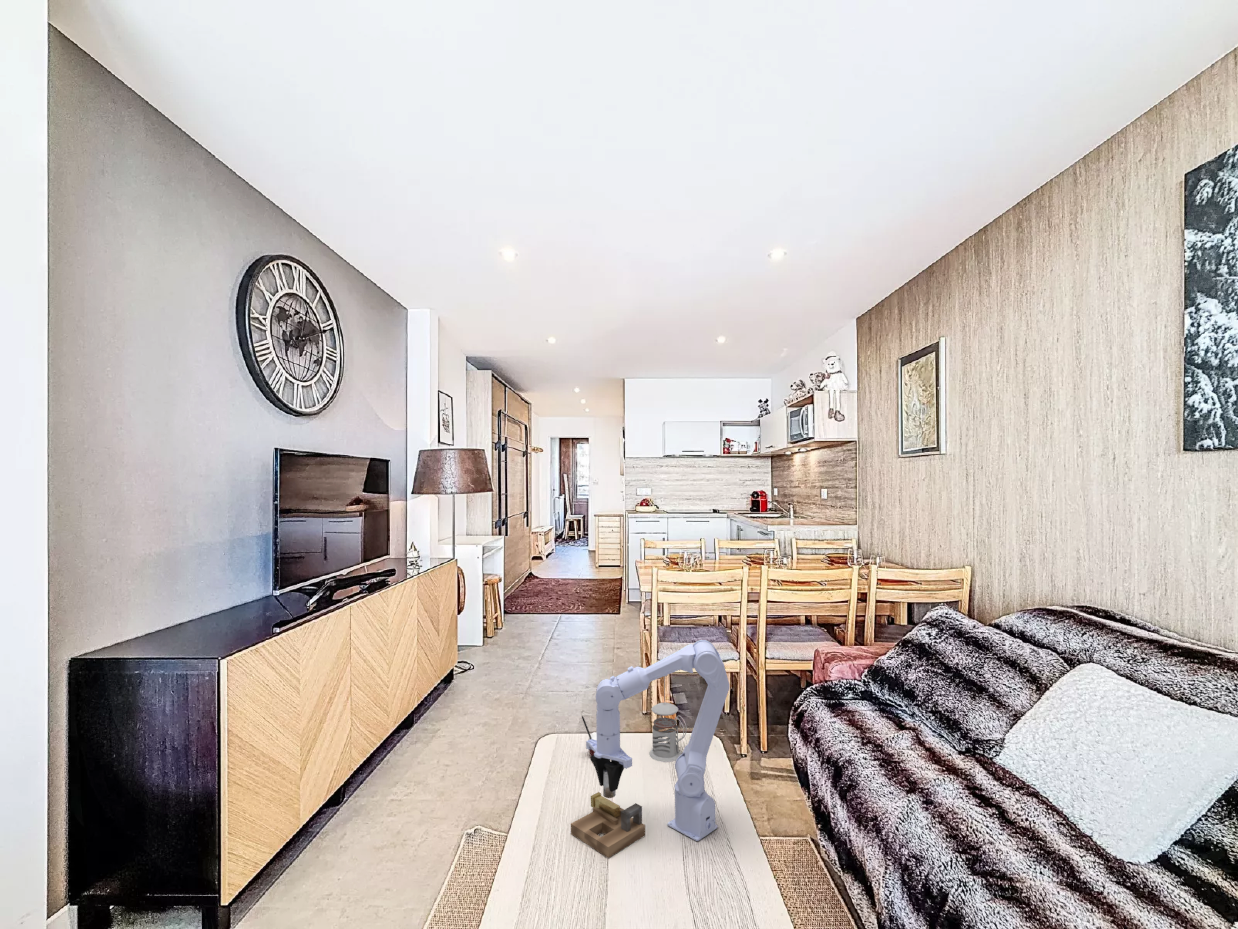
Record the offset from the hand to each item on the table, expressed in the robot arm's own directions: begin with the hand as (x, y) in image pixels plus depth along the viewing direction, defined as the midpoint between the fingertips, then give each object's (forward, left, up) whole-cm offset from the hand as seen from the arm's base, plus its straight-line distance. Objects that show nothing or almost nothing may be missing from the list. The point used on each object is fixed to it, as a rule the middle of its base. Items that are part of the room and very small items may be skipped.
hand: (608, 787), depth 152 cm
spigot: (0, 0, -2) cm, 2 cm away
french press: (+14, -38, -10) cm, 41 cm away
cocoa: (+29, -23, -10) cm, 38 cm away
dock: (-2, +3, -9) cm, 10 cm away
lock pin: (+2, -1, -7) cm, 7 cm away
